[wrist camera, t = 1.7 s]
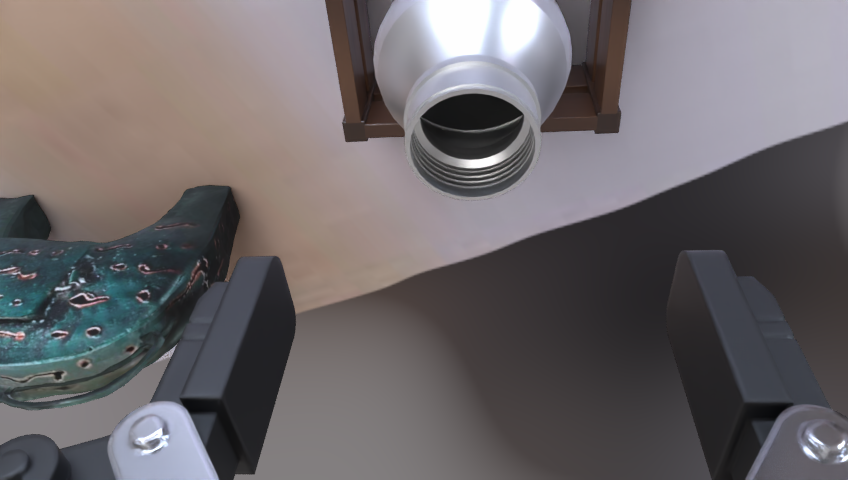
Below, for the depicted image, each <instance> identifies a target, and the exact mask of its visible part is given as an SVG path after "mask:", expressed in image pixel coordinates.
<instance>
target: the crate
mask: <svg viewBox="0 0 848 480" xmlns="http://www.w3.org/2000/svg"><path fill="white" fill-rule="evenodd" d="M325 2H326V8H327V14H328V20H329V26H330V32H331V37H332V43H333V49H334V55H335V61H336V67H337V73H338V78H339V84H340V90H341V96H342V102H343V108H344V114H345V116H344V119H343V122H342V124H343V129H344V135H345V141H346V142H357V141H368V138H380V137H405V130H404V129H403V128H402V127H401V126H400V125H399V123H398V122H397V121H396V120H395V119H394V118H393V117H392V115H391V113H390V112H389V110H388V108H387V107H386V105H385V103H384V100H383V97H382V95H381V92H380V89H379V86H378V83H377V81H376V78H375V70H374V63H373V51H372V43H371V36H370V28H369V20H368V13H367V5H366V0H325ZM630 8H631V0H591V5H590V17H589V28H588V40H587V51H586V62H582V65H573V66H571V70H570V73H569V77H568V80H567V83H566V86H565V89H564V91H563V93H562V95H561V97H560V99H559V101H558V103H557V105H556V106H555V108H554V110H553V112H552V113H551V114H550V115H549V117H548V118H547V119H546V120H545V121H544V123H543V124H542V125H541V127H540V131H541V132H559V131H589V130H594V132H595V134H601V133H618V132H619V126H620V119H621V110H620V108H619V105H618V103H619V95H620V87H621V79H622V71H623V64H624V56H625V48H626V40H627V32H628V24H629V16H630Z"/></svg>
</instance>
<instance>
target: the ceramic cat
mask: <svg viewBox="0 0 848 480" xmlns="http://www.w3.org/2000/svg"><path fill="white" fill-rule="evenodd" d="M239 219H240V215H239V211H238V208H237V206H236V203H235V202H234V200H233V195H232V191H231V188H230V187H227V186H213V185H209V186H199V187H195V188H192V189H187V190H186V191H185V192H184V194H183V196H182V197H181V199H180V200H179V201H178V202H177V204H176V205H175V206H174V207H173V208H172V209H170V210H169V211H168V213H167V214H166V215H164V216H163V217H162V218H161V219H160V220H159V221H157V222H156V223H155V224H153V225H151V226H149V227H147V228H145V229H143V230H141V231H139V232H137V233H134V234H132V235H129V236H127V237H124V238H122V239H119V240H116V241H112V242H108V243H96V242H89V241H78V242H63V241H49V240H47V239H48V237H49V234H50V232H51V227H50V224H49V222H48V220H47V217H46V215H45V214H44V212H43V211H42V210H41V208H40V207H39V205H38V204H37V202H36V201H35V199H34V195H29V196H23V197H19V198H13V199H4V198H0V403H4V404H7V405H9V406H12V407H17V408H22V409H26V410H41V409H51V408H62V407H67V406H72V405H76V404H81V403H85V402H89V401H92V400H95V399H99V398H102V397H105V396H107V395H109V394H111V393H113V392H114V391H116V390H117V389H119V388H121V387H122V386H124V385H125V384H126V383H127V382H129V381H130V380H131V379H132V378H133V377H134V376H135V375H137V374H138V373H139V372H140V371H141V370H142V369H143V368H145V367H147V366H149V365H150V364H152V363H154V362H155V361H157V360H158V359H159V358H160V357H162V356H163V355H164V354H165V353H166V352H168V351H169V350H170V349H172V348H173V347H174V346H175V345H176V344H177V343H178V342H179V340H181V338H182V337H181V335H182V333H183V331H184V329H185V327H186V325H187V324H189V318H190V316H191V314H192V312H193V310H194V308H195V306H196V303H197V301H198V299H199V298H200V297H201V296H202V295H203V294H204V293H205V292H206V291H207V290H208V289H209V288H210V287H211V286H212V285H213V284H214V283H215V282H224V281H225V278H226V276H227V271H228V267H229V262H230V255H231V251H232V247H233V241H234V237H235V234H236V230H237V226H238V223H239ZM93 390H94V391H93ZM88 391H92V392H89V393H86V394H83V395H78V396H74V397H70V398H66V399H60V400H55V401H48V402H23V401H27V400H33V399H38V398H44V397H49V396H54V395H62V394H76V393H83V392H88Z"/></svg>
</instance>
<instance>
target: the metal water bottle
mask: <svg viewBox="0 0 848 480" xmlns="http://www.w3.org/2000/svg"><path fill="white" fill-rule="evenodd" d="M571 61H572V45H571V39H570V32H569V30H568V27H567V25H566V22H565V19H564V17H563V15H562V13H561V10H560V8H559V6H558V4H557V3H556V1H555V0H394V1H393V3H392V5H391V6H390V8H389V10H388V12H387V14H386V15H385V17H384V19H383V21H382V23H381V25H380V28H379V31H378V34H377V37H376V41H375V46H374V57H373V63H374V70H375V78H376V81H377V83H378V86H379V89H380V92H381V95H382V97H383V100H384V103H385V105H386V107H387V108H388V110H389V112H390V113H391V115H392V117H393V118H394V119H395V120H396V121H397V122H398V123H399V125H400V126H401V127H402V128H403V129H404V130H405V138H404V145H405V153H406V157H407V160H408V163H409V166H410V168H411V169H412V171H413V172H414V174H415V176H416V177H417V178H418V179H419V180H420V181H421V182H422V183H423V184H424V185H426V186H427V187H428V188H430V189H431V190H433V191H435V192H437V193H439V194H441V195H443V196H446V197H449V198H453V199H458V200H466V201H476V200H485V199H490V198H494V197H497V196H500V195H503V194H505V193H507V192H509V191H511V190H512V189H514V188H516V187H517V186H518V185H519V184H521V183H522V182H523V181H524V180H525V179H526V178H527V177H528V176H529V174H530V173H531V172H532V170H533V169H534V167H535V165H536V163H537V161H538V157H539V154H540V149H541V131H540V127H541V125H542V124H543V123H544V121H545V120H546V119H547V118H548V117H549V115H550V114H551V113H552V112H553V110H554V108H555V106H556V105H557V103H558V101H559V99H560V97H561V95H562V93H563V91H564V89H565V86H566V83H567V80H568V77H569V73H570V70H571Z"/></svg>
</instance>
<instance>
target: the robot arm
mask: <svg viewBox="0 0 848 480" xmlns="http://www.w3.org/2000/svg"><path fill="white" fill-rule="evenodd" d="M666 323H667V324H666V325H667V332H668V337H669V340H670V344H671V347H672V350H673V353H674V357H675V360H676V363H677V367H678V370H679V373H680V377H681V380H682V383H683V386H684V389H685V393H686V396H687V399H688V403H689V406H690V409H691V413H692V416H693V419H694V422H695V426H696V429H697V432H698V436H699V439H700V442H701V445H702V449H703V452H704V455H705V459H706V462H707V465H708V468H709V472H710V475H711V478H712V480H848V418H847V417H846V416H844V415H842V414H841V413H838V412H837V411H834V410H832V409H831V407H830V405H829V404H828V402H827V400H826V398H825V396H824V394H823V392H822V390H821V388H820V386H819V384H818V382H817V380H816V378H815V376H814V374H813V372H812V370H811V368H810V366H809V364H808V362H807V360H806V358H805V356H804V354H803V352H802V350H801V348H800V346H799V344H798V342H797V340H796V339H794V337H793V336H794V335H793V333H792V330H791V328H790V326H789V324H788V322H787V321H785V317H784V315H783V313H782V311H781V309H780V307H779V305H778V303H777V301H776V299H775V297H774V295H773V294H772V293H771V292H770V291H768V290H767V289H766V288H765V287H764V286H763V285H762V284H761V283H760V282H758V281H757V280H756V279H755V278H754V277H753V276H736V274H735V272H734V270H733V268H732V265H731V263H730V262H729V259H728V257H727V255H726V253H725V252H724V251H722V250H705V251H704V250H703V251H702V250H701V251H700V250H697V251H682V252H681V253H680V254H679V256H678V260H677V264H676V269H675V273H674V277H673V282H672V286H671V291H670V295H669V299H668V304H667V310H666ZM295 326H296V316H295V309H294V305H293V301H292V298H291V294H290V291H289V287H288V284H287V280H286V277H285V273H284V269H283V266H282V263H281V260H280V259H279V257H277V256H255V257H241V258H240V259H239V260H238V262H237V264H236V266H235V268H234V271H233V273H232V275H231V278H230V280H229V282H215V283H214V284H213V285H212V286H211V287H210V288H209V289H208V290H207V291H206V292H205V293H204V294H203V295H202V296H201V297H200V298H199V299H198V301H197V303H196V306H195V308H194V310H193V312H192V314H191V316H190V318H189V324H187V325H186V327H185V329H184V331H183V333H182V335H181V337H182V339H181V340H179V342H178V344H177V346H176V348H175V350H174V353H173V355H172V357H171V359H170V361H169V363H168V366H167V368H166V370H165V372H164V374H163V376H162V378H161V380H160V382H159V385H158V387H157V389H156V391H155V393H154V395H153V397H152V399H151V401H150V403H149V404H146V405H143V406H141V407H139V408H137V409H136V410H134V411H132V412H131V413H129V414H128V415H126V416H125V417H124V418H123V419H122V420H121V421H120V422H119V423H118V425H117V426H116V427H115V429H114V430H113V432H112V434H111V435H108V436H105V437H102V438H99V439H95V440H92V441H88V442H84V443H81V444H77V445H74V446H70V447H66V448H62V449H59V448H58V446H57V445H56V444H55V442H54V441H53V440H52V439H51V438H49V437H47V436H44V435H40V434H31V435H24V436H20V437H17V438H15V439H12V440H10V441H8V442H6V443H4V444H2V445H0V480H233V479H234V476H235V474H255V471H256V467H257V464H258V460H259V457H260V454H261V450H262V447H263V443H264V439H265V436H266V433H267V429H268V426H269V422H270V419H271V415H272V412H273V408H274V405H275V401H276V398H277V394H278V391H279V387H280V384H281V381H282V377H283V374H284V370H285V366H286V363H287V360H288V356H289V353H290V349H291V346H292V342H293V339H294V334H295Z"/></svg>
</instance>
